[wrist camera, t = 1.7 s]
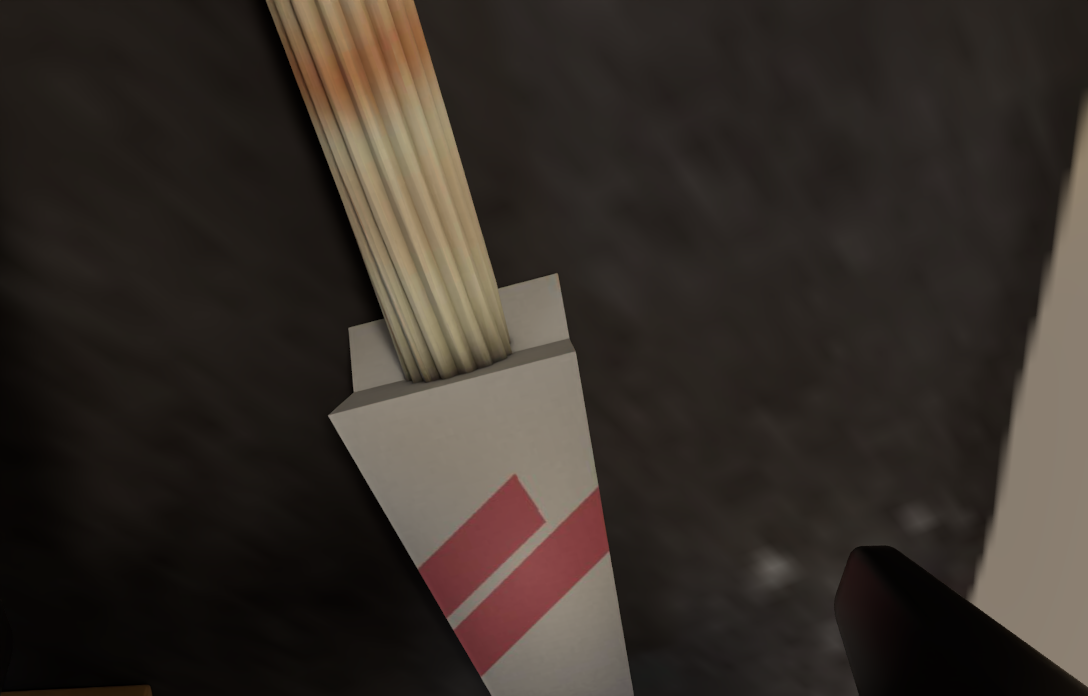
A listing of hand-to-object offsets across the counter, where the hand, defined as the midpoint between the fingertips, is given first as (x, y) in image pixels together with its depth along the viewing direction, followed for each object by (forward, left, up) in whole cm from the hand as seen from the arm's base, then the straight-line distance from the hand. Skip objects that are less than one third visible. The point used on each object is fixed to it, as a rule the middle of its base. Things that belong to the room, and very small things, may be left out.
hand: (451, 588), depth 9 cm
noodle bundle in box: (0, 0, -7) cm, 7 cm away
